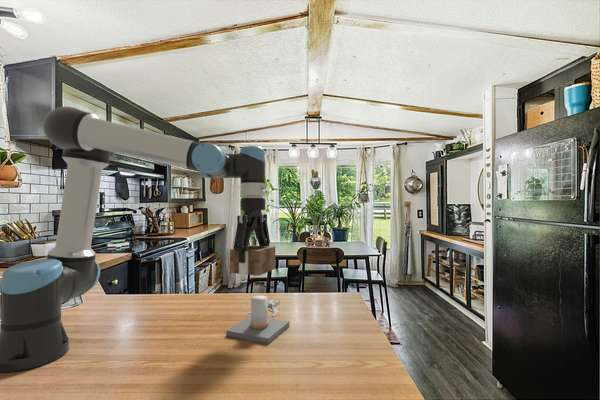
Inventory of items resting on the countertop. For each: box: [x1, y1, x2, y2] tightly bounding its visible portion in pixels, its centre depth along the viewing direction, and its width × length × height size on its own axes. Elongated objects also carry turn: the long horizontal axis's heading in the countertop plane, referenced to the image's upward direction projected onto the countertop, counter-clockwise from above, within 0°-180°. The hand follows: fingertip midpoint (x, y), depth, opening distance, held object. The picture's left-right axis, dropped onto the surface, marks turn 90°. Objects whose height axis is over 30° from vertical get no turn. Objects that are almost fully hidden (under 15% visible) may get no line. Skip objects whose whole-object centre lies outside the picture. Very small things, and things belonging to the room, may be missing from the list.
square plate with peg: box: [225, 295, 290, 345], centre depth 97 cm, size 14×14×10 cm
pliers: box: [247, 299, 281, 318], centre depth 117 cm, size 10×2×15 cm
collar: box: [229, 244, 276, 276], centre depth 97 cm, size 10×10×7 cm
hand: (253, 270), depth 97 cm, fingers closed on collar, 10 cm apart
